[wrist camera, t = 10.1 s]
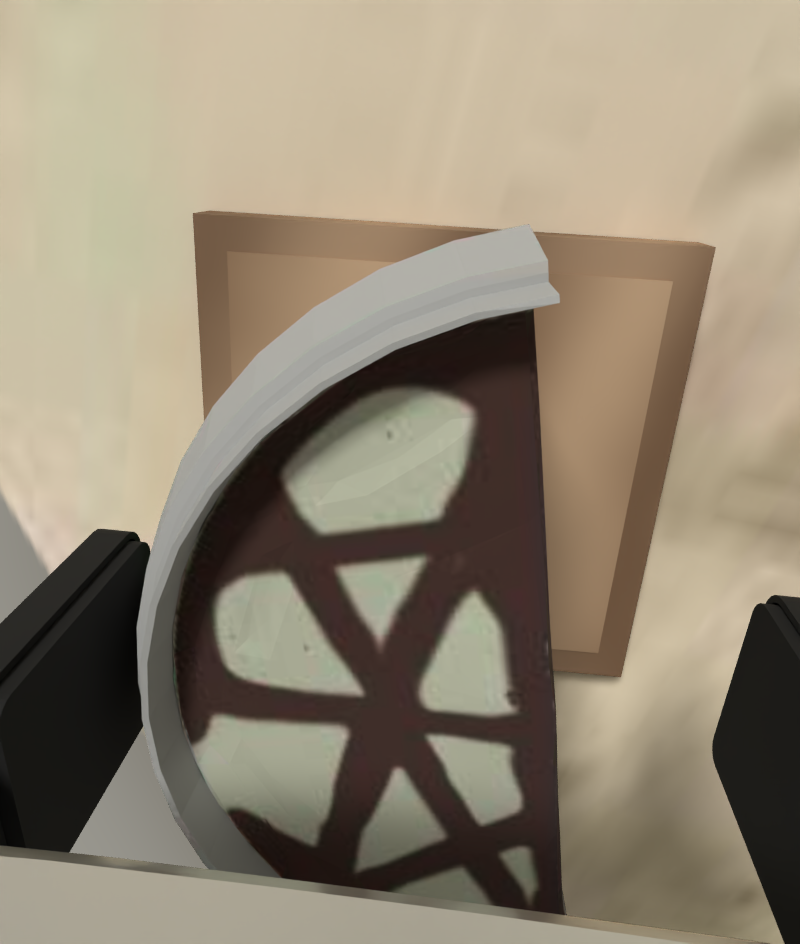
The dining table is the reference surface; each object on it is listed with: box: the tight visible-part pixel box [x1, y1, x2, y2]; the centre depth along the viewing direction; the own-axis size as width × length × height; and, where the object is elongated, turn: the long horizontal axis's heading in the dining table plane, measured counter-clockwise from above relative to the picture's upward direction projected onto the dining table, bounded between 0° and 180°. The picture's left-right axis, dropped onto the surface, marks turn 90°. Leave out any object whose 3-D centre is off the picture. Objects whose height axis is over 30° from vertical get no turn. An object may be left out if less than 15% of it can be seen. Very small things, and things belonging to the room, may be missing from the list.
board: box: [193, 211, 716, 677], centre depth 19 cm, size 12×12×1 cm
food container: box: [137, 224, 567, 916], centre depth 14 cm, size 12×6×10 cm, turn 7°
